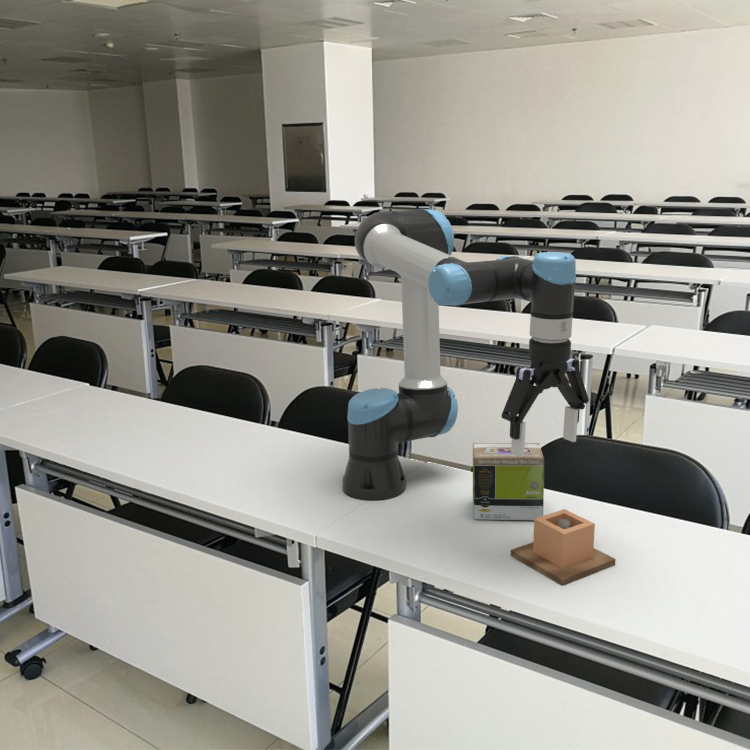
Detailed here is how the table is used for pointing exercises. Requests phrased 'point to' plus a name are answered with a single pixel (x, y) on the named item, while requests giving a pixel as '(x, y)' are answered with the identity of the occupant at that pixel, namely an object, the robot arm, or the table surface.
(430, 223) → the robot arm
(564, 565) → the collar
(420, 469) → the table surface
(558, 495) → the table surface
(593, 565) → the post board
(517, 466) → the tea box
